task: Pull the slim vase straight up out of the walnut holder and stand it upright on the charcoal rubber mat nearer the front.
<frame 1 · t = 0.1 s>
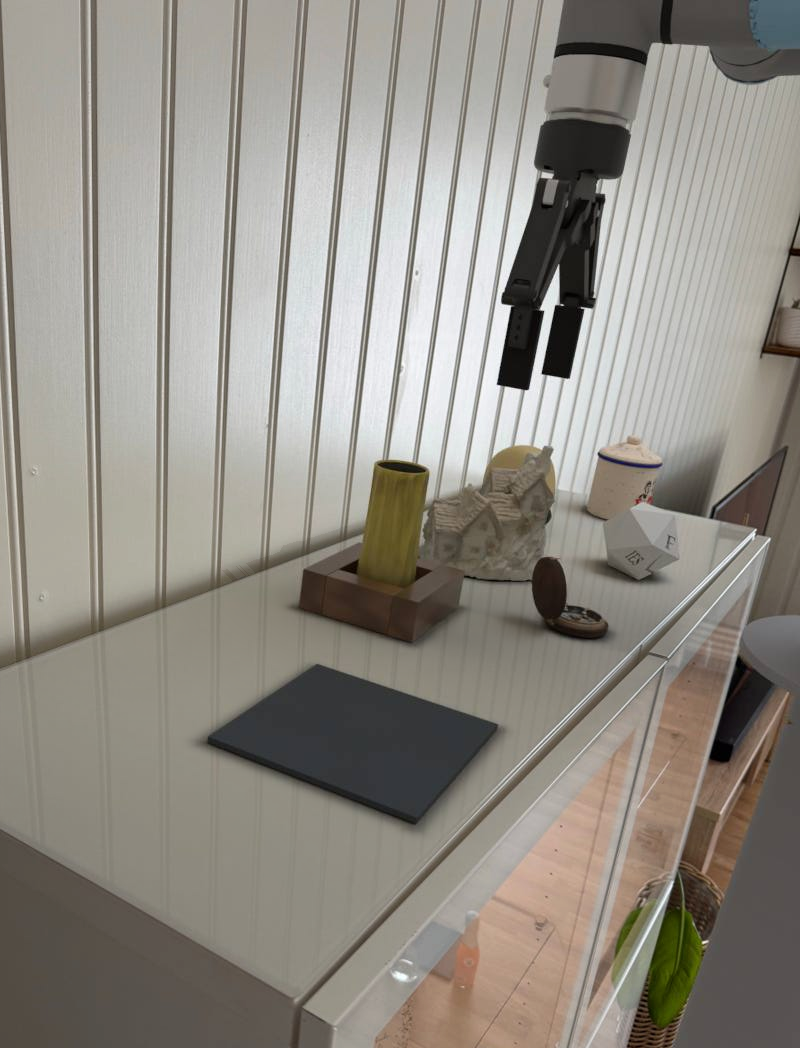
hand: (535, 382, 89), 23 cm above the table, tool pointing down, fingers open, 13 cm apart
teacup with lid: (616, 514, 143), on the table
mat: (359, 735, 71), on the table
holder: (380, 607, 95), on the table
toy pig: (513, 524, 131), on the table
ceramic cottage: (480, 559, 114), on the table
compass: (563, 625, 97), on the table
die: (632, 573, 116), on the table
vase: (380, 609, 95), resting in holder
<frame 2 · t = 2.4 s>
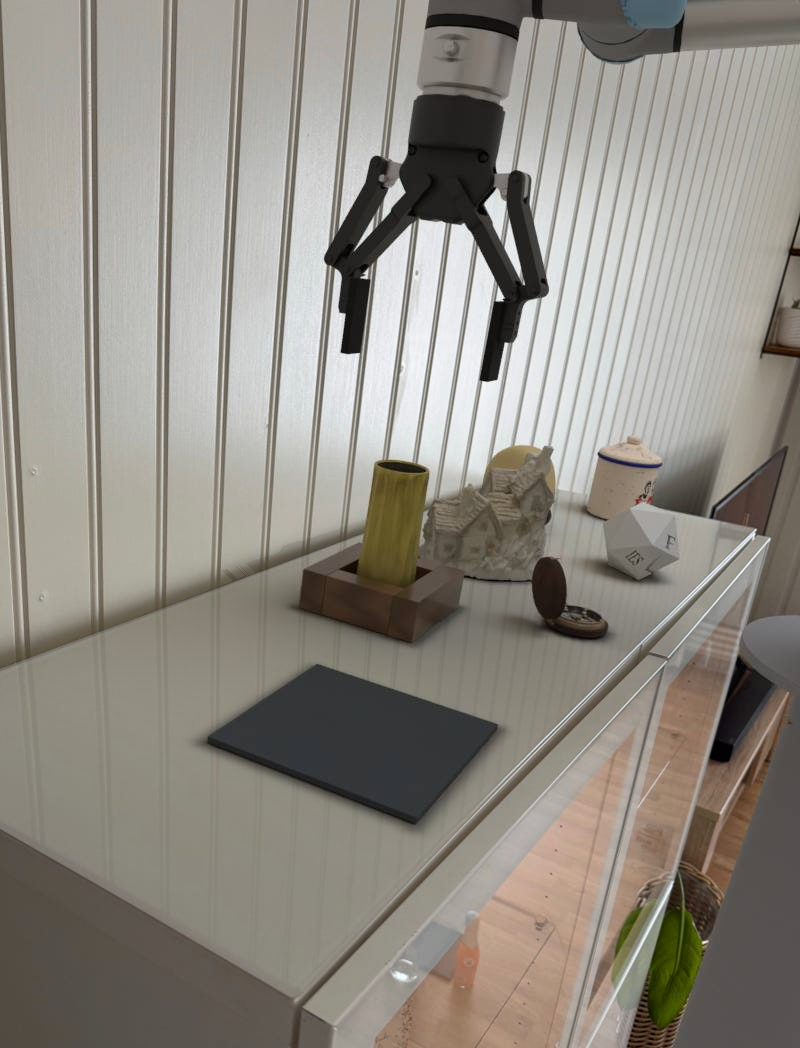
hand: (417, 366, 86), 23 cm above the table, tool pointing down, fingers open, 13 cm apart
nothing on the table moved.
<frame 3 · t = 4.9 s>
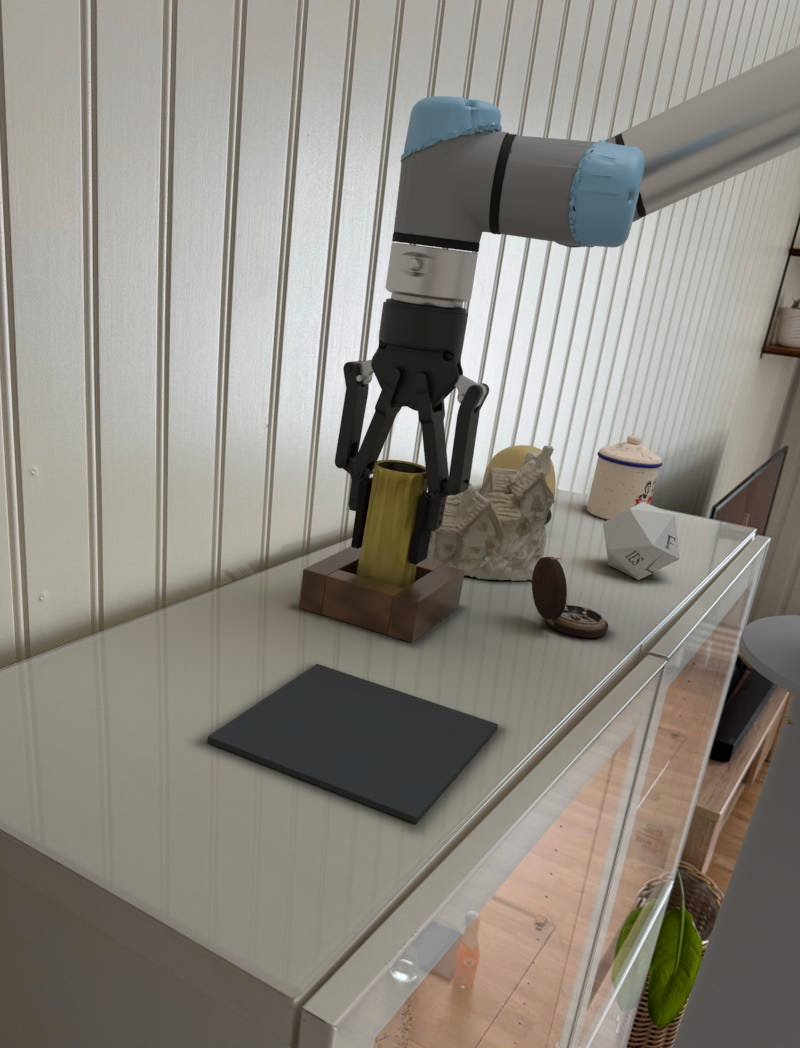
hand: (388, 552, 93), 6 cm above the table, tool pointing down, fingers closed on vase, 5 cm apart
vase: (380, 609, 95), resting in holder, touching gripper
everything else where it was.
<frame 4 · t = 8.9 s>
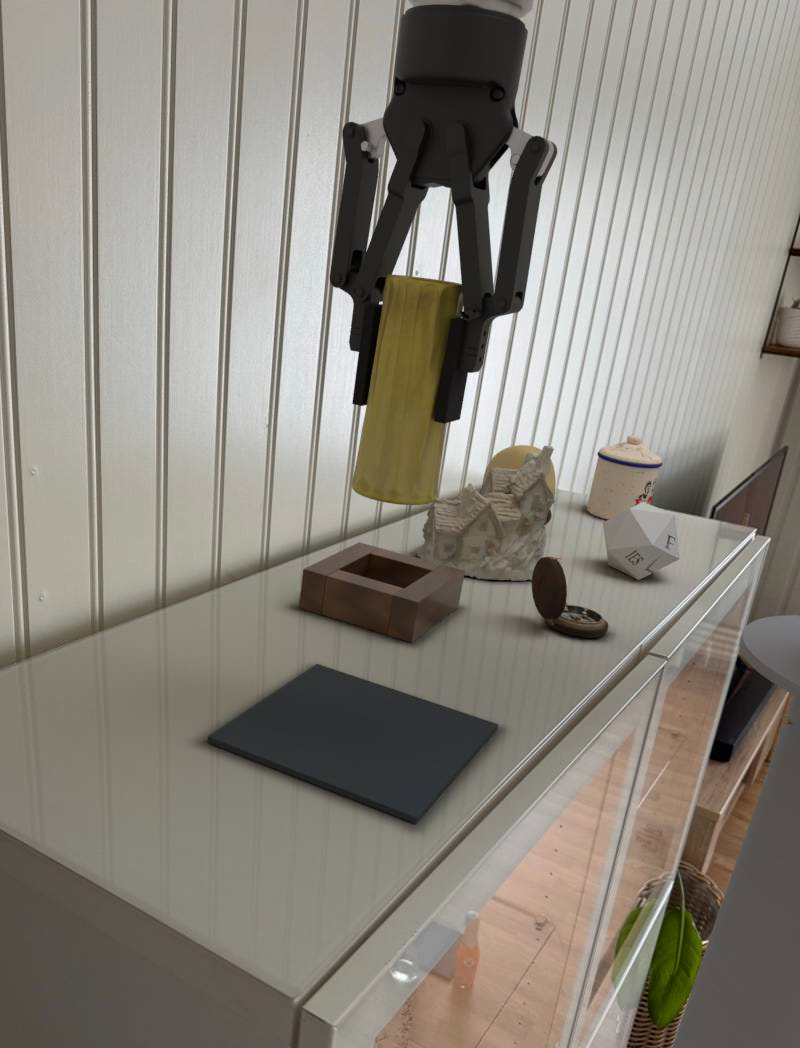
hand: (405, 410, 65), 23 cm above the table, tool pointing down, fingers closed on vase, 5 cm apart
vase: (393, 496, 68), point 17 cm above the table, touching gripper
everything else where it was.
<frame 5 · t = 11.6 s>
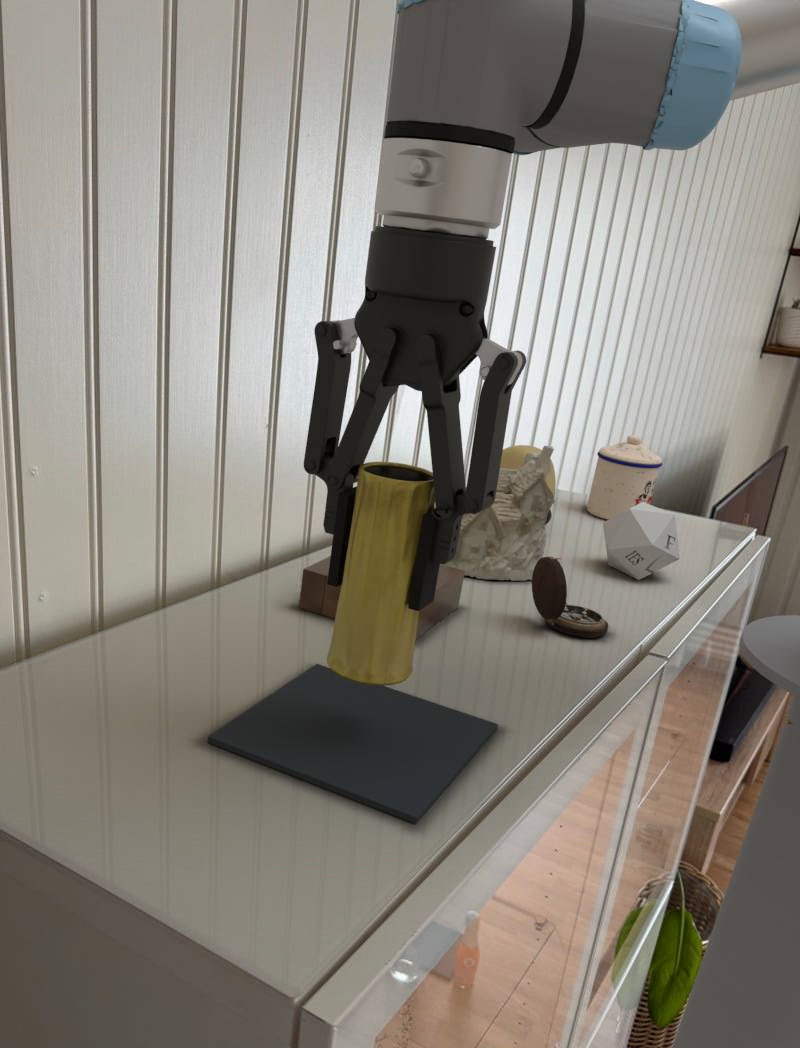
hand: (380, 591, 66), 11 cm above the table, tool pointing down, fingers closed on vase, 5 cm apart
vase: (368, 670, 68), point 5 cm above the table, touching gripper
everything else where it was.
when the fingers open (6 cm above the table, at t = 13.2 s): vase stays where it is, resting on mat.
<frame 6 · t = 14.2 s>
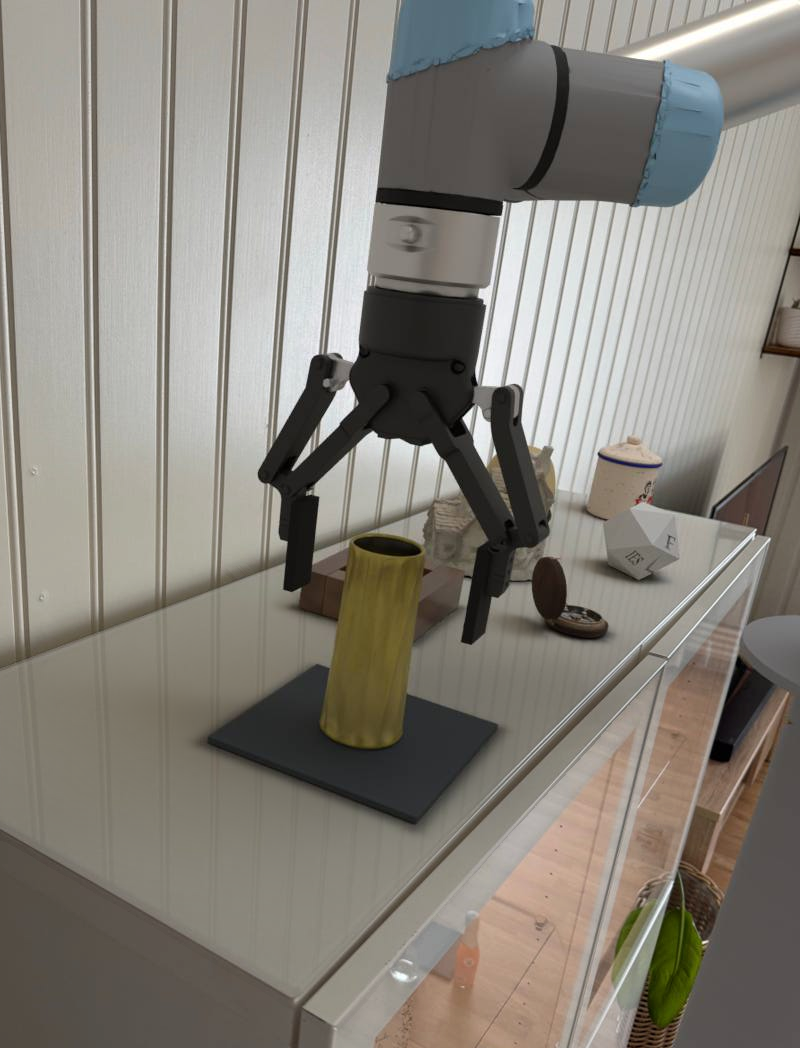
hand: (381, 611, 67), 10 cm above the table, tool pointing down, fingers open, 13 cm apart
vase: (359, 732, 70), resting on mat
everything else where it was.
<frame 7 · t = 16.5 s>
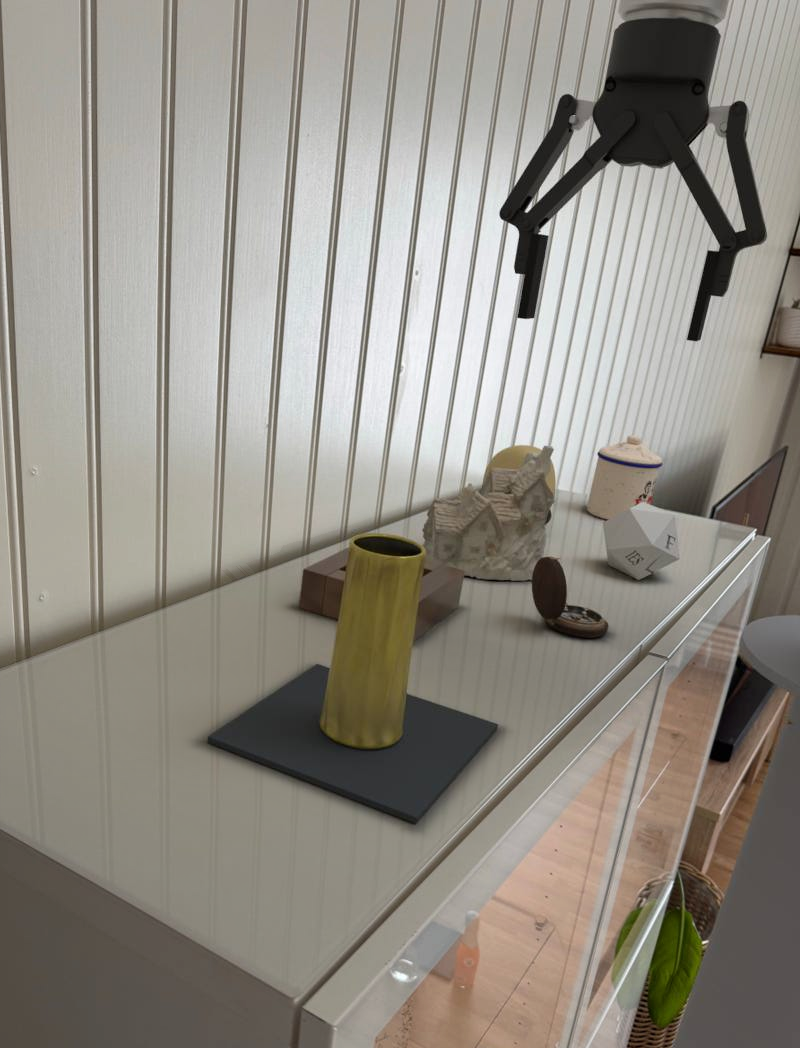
hand: (606, 329, 78), 29 cm above the table, tool pointing down, fingers open, 13 cm apart
nothing on the table moved.
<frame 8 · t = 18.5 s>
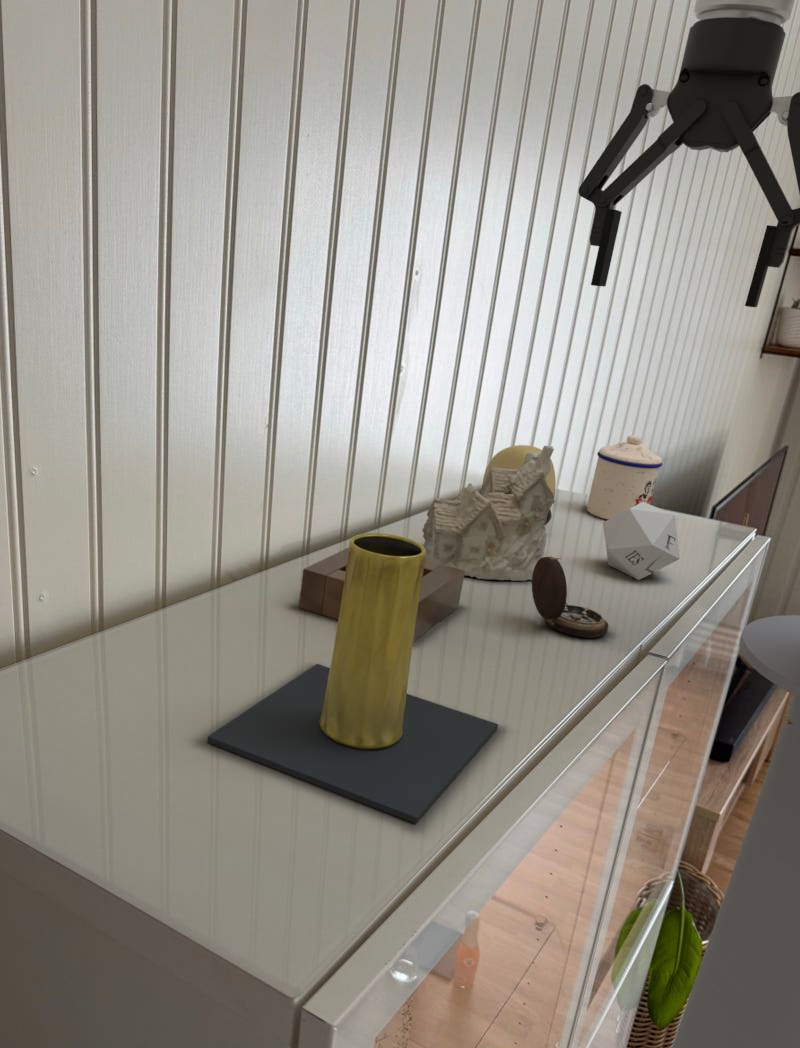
hand: (672, 296, 87), 32 cm above the table, tool pointing down, fingers open, 13 cm apart
nothing on the table moved.
at the end: vase inside the target area on the mat (0.0 cm from its centre), point 0.3 cm above the mat's base; vase tilted 0°; vase touching mat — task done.
